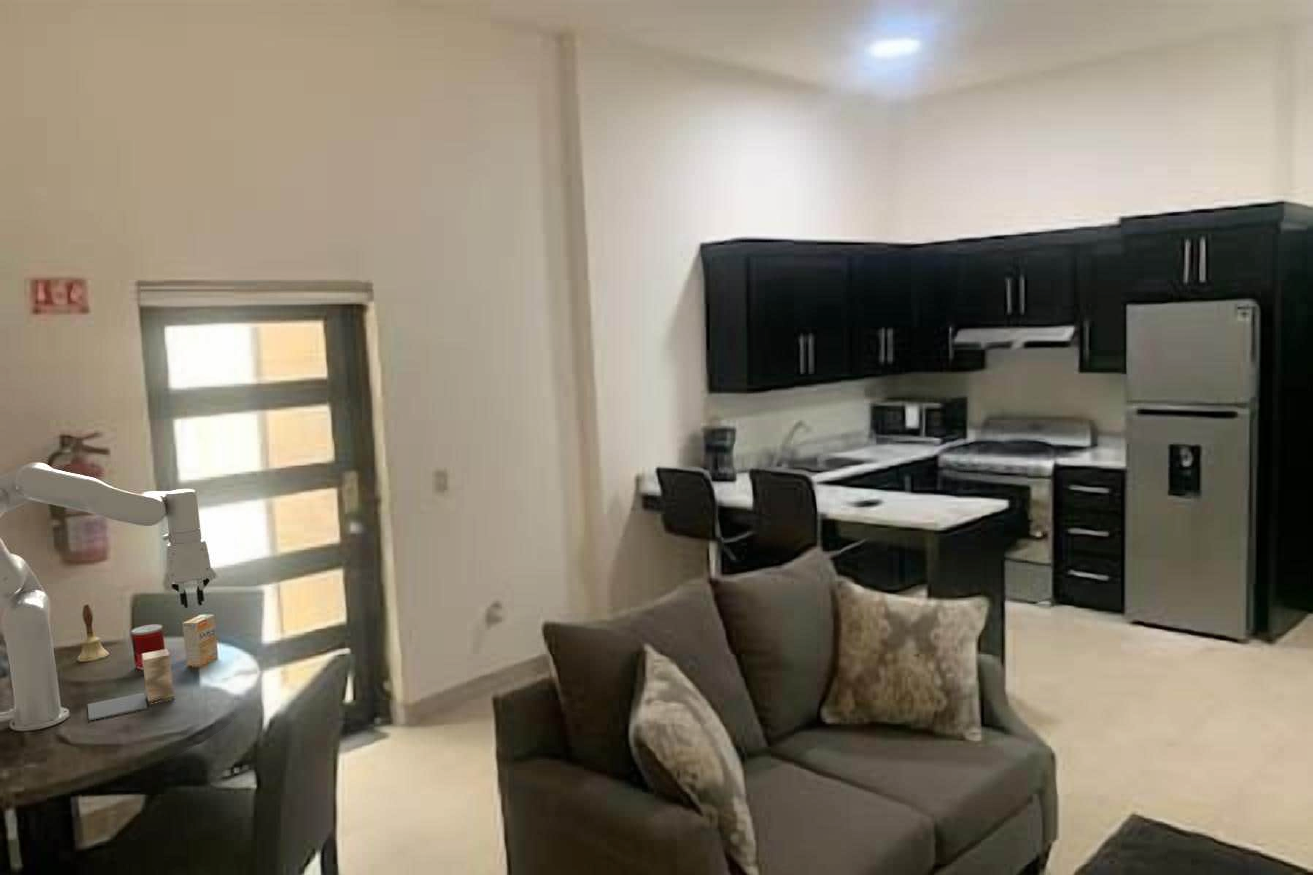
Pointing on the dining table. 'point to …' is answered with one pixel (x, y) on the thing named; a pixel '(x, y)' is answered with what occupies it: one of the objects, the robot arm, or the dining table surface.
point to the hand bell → (90, 640)
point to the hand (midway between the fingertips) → (192, 604)
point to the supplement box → (200, 640)
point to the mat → (116, 706)
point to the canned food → (146, 641)
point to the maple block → (158, 676)
